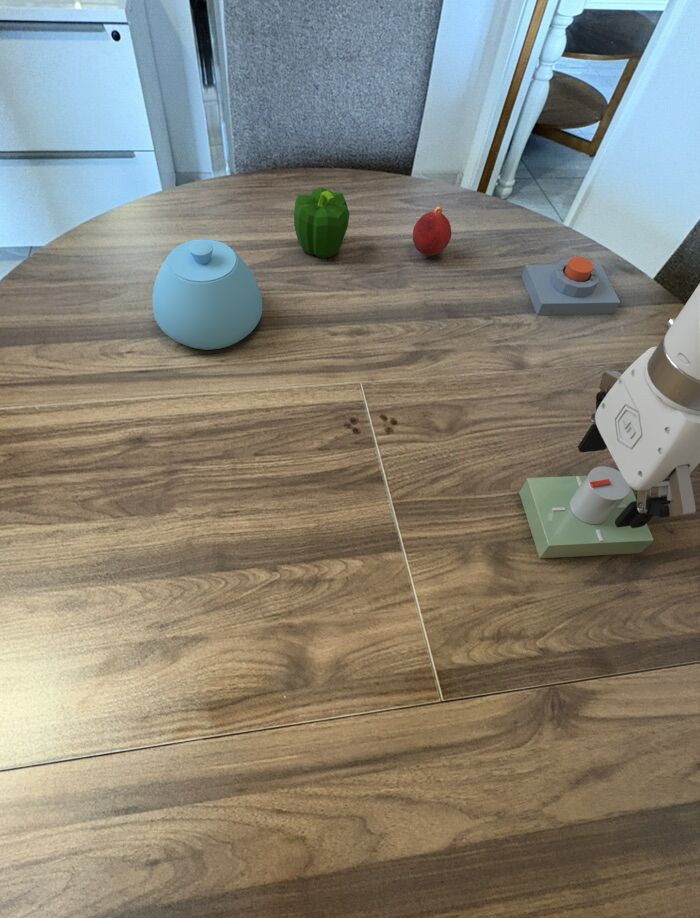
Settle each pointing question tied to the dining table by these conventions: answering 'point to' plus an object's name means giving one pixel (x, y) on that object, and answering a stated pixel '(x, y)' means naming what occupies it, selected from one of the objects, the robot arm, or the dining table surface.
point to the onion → (432, 233)
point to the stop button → (578, 269)
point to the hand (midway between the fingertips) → (609, 484)
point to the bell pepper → (321, 222)
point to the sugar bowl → (206, 296)
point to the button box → (568, 291)
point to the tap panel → (575, 522)
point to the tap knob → (599, 495)
